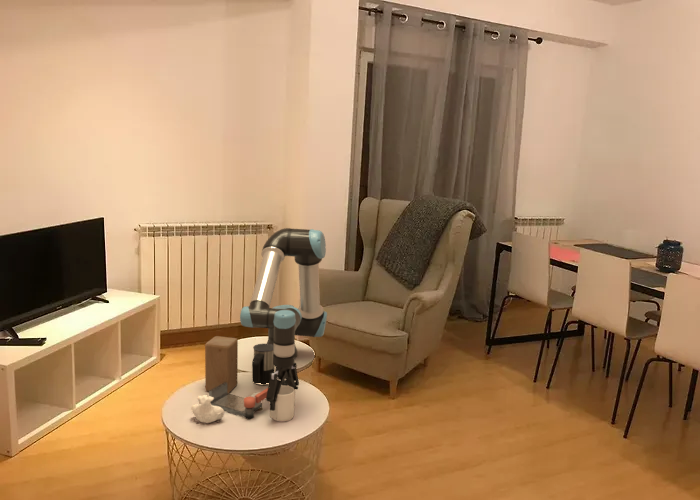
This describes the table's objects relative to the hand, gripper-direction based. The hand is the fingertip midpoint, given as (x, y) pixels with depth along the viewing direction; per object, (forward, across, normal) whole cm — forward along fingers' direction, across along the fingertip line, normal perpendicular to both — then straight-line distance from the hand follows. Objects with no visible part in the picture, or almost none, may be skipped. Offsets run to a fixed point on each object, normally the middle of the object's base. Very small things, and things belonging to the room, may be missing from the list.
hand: (282, 411), depth 212 cm
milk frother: (+1, -20, -19) cm, 28 cm away
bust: (+2, +18, -20) cm, 27 cm away
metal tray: (+1, +4, -17) cm, 18 cm away
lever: (-1, 0, -9) cm, 9 cm away
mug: (+2, 0, 0) cm, 2 cm away
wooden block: (+1, -6, -33) cm, 34 cm away
